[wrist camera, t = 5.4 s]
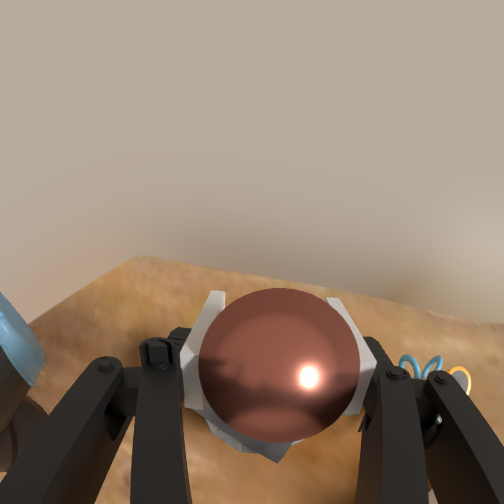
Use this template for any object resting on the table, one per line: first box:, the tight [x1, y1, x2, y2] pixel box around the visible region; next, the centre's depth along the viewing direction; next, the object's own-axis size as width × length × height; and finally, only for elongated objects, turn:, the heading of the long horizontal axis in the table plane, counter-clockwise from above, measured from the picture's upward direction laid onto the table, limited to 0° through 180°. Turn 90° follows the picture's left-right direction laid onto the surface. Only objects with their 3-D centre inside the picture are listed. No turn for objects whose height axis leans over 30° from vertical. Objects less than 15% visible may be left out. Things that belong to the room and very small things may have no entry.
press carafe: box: [193, 400, 304, 463], centre depth 29 cm, size 14×11×15 cm
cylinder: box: [399, 355, 471, 422], centre depth 28 cm, size 12×10×15 cm
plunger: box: [198, 288, 360, 443], centre depth 18 cm, size 6×6×22 cm
